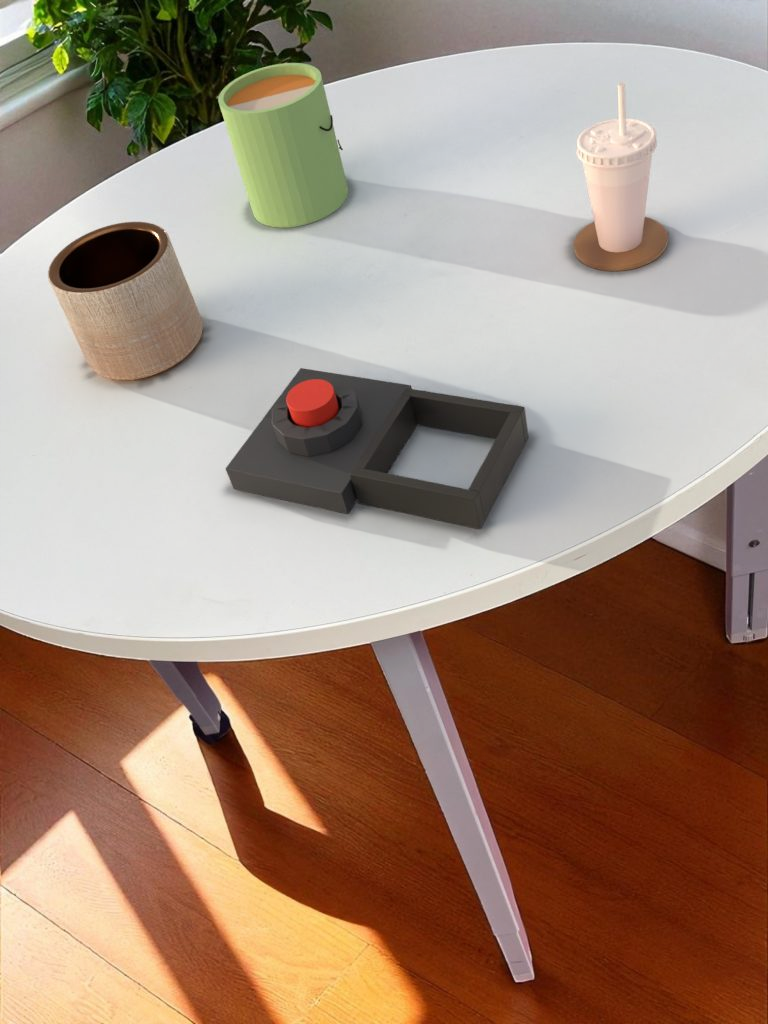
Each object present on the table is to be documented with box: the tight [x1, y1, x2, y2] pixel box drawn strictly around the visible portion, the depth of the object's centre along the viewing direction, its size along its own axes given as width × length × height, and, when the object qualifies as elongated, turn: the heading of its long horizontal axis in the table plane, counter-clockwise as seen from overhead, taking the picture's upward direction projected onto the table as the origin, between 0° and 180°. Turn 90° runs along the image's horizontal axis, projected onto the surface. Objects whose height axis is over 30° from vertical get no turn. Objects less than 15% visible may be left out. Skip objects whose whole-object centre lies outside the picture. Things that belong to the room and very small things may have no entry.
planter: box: [47, 221, 204, 381], centre depth 93 cm, size 11×11×10 cm
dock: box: [350, 388, 529, 530], centre depth 77 cm, size 10×10×3 cm
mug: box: [217, 62, 349, 228], centre depth 107 cm, size 13×10×12 cm
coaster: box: [573, 216, 669, 272], centre depth 93 cm, size 8×8×1 cm
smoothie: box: [576, 81, 658, 252], centre depth 88 cm, size 6×6×14 cm
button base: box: [225, 367, 413, 515], centre depth 81 cm, size 10×12×4 cm
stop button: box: [286, 379, 339, 428], centre depth 79 cm, size 4×4×2 cm
